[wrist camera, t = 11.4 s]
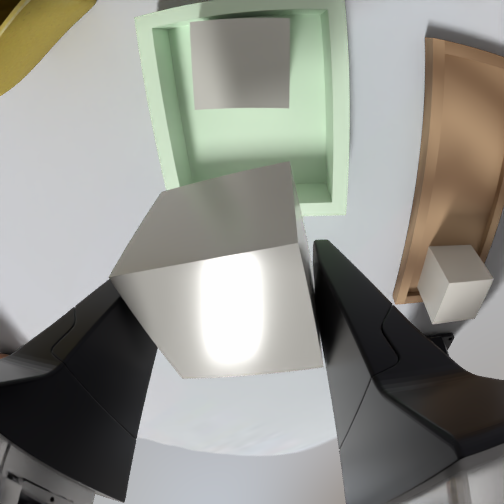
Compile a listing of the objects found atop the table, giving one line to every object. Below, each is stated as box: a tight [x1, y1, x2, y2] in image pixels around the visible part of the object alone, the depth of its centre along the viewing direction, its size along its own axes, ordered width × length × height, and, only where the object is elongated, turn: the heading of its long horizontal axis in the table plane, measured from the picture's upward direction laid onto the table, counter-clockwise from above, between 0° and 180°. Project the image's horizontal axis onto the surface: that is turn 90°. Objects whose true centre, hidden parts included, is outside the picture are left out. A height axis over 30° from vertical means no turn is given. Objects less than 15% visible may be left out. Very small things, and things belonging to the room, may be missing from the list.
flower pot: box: [0, 0, 97, 96], centre depth 8 cm, size 9×9×9 cm
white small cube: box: [109, 161, 323, 379], centre depth 9 cm, size 4×4×4 cm
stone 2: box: [190, 18, 290, 110], centre depth 13 cm, size 4×4×4 cm
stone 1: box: [417, 245, 494, 324], centre depth 20 cm, size 4×4×4 cm
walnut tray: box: [393, 37, 504, 304], centre depth 18 cm, size 20×8×1 cm, turn 5°
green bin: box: [134, 0, 350, 216], centre depth 15 cm, size 12×10×3 cm
